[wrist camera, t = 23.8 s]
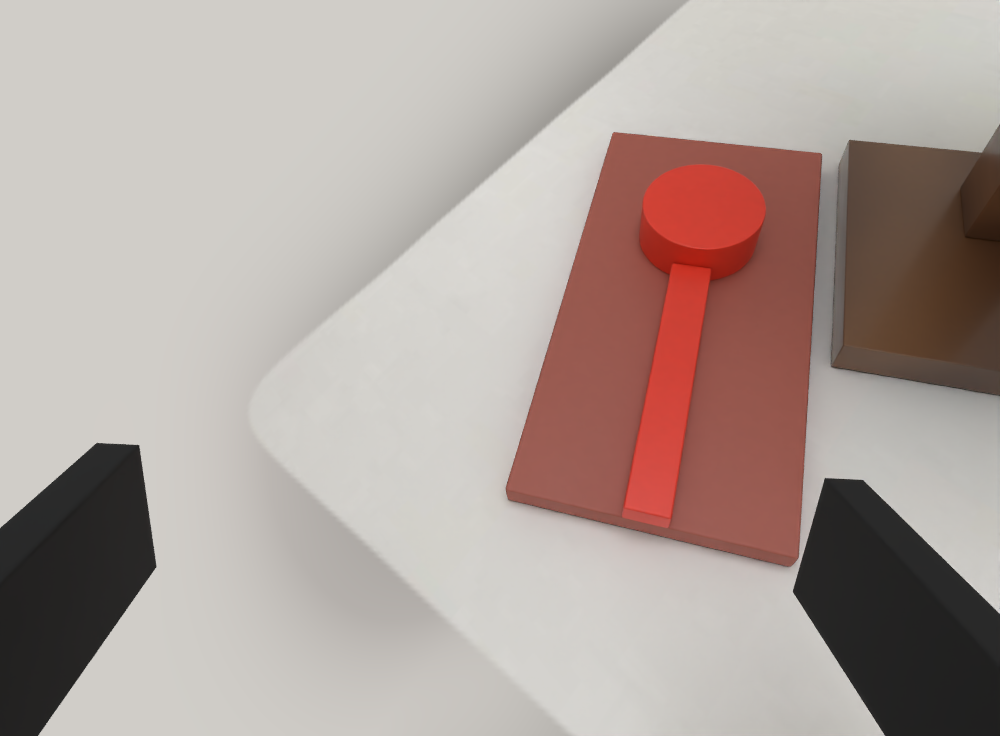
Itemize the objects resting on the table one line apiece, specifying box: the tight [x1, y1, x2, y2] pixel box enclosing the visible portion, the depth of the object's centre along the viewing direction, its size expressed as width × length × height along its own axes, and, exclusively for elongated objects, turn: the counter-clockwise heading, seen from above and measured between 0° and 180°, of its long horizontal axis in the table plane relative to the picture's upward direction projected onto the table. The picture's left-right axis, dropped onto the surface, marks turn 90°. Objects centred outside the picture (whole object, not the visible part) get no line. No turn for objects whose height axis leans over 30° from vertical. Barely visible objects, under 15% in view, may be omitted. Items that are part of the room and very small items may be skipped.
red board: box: [506, 132, 822, 567], centre depth 28 cm, size 10×20×1 cm, turn 164°
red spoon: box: [622, 164, 766, 528], centre depth 26 cm, size 5×16×2 cm, turn 164°
